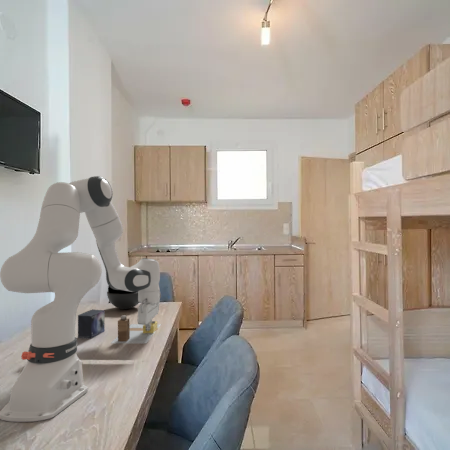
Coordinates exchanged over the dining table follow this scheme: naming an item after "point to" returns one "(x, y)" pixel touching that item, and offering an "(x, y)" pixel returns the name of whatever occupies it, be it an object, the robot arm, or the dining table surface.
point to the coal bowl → (122, 298)
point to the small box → (91, 324)
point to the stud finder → (153, 327)
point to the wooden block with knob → (123, 329)
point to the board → (137, 335)
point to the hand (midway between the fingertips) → (148, 330)
